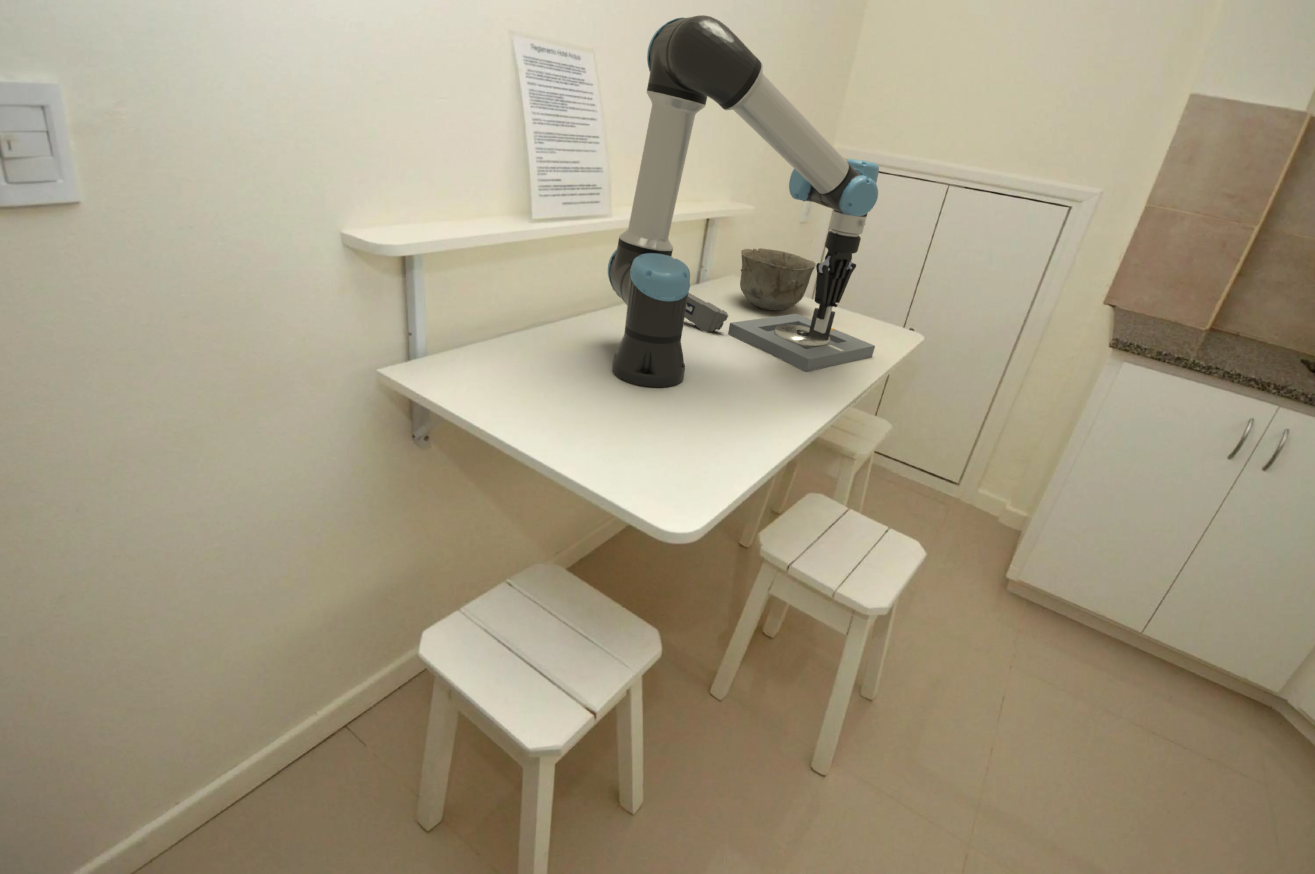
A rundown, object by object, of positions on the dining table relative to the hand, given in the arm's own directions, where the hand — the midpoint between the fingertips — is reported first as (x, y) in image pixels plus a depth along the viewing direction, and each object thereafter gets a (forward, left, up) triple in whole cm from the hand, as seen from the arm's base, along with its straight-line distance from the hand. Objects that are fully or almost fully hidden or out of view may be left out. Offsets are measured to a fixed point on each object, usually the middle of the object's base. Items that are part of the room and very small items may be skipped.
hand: (819, 331), depth 161 cm
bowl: (+17, +32, -6) cm, 37 cm away
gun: (-20, +31, -6) cm, 37 cm away
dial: (0, +5, -4) cm, 6 cm away
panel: (0, +5, -6) cm, 7 cm away
